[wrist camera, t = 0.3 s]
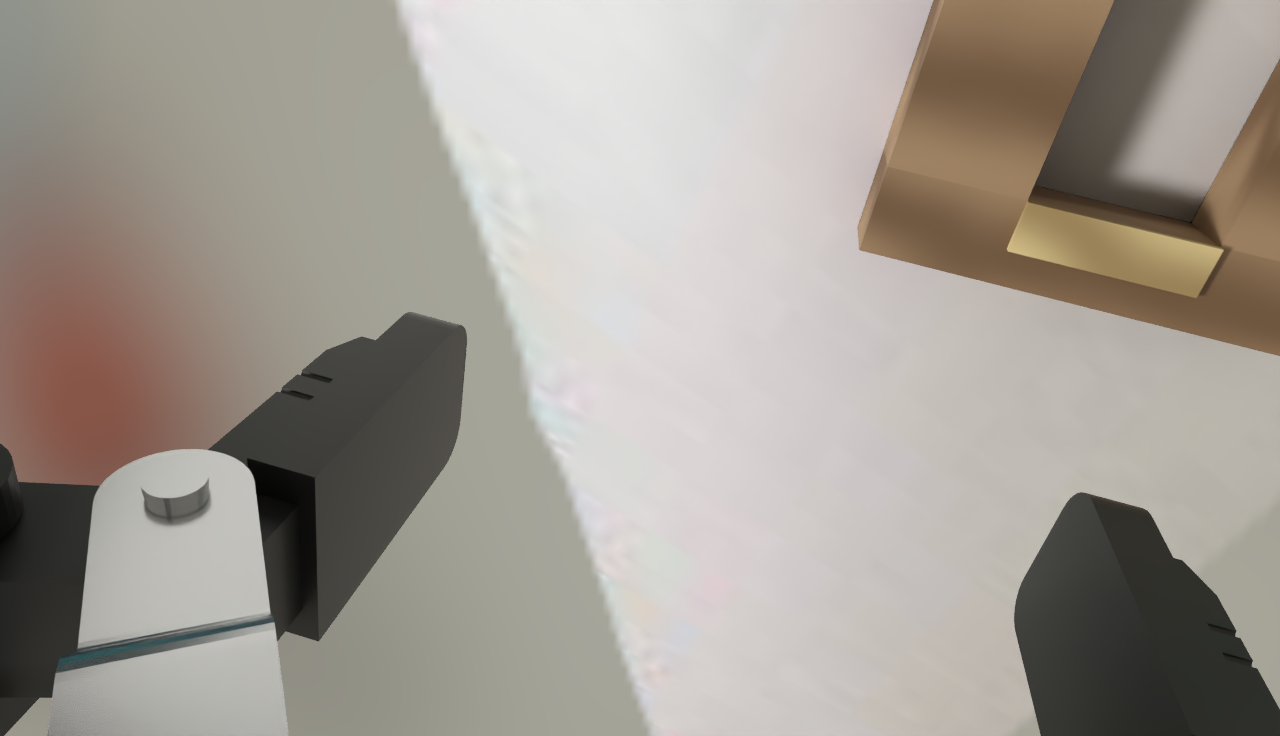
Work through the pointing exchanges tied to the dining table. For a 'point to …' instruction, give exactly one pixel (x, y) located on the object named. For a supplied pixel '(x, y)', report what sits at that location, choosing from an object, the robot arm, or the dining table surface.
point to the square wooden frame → (1056, 221)
